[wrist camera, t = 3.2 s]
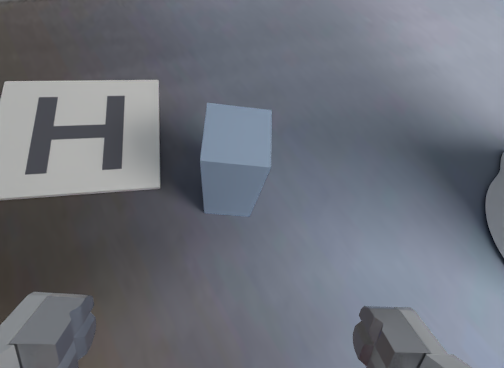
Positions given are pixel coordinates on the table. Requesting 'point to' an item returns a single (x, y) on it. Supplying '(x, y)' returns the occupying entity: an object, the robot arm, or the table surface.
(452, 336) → the table surface
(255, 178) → the blue block
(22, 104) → the letter card
